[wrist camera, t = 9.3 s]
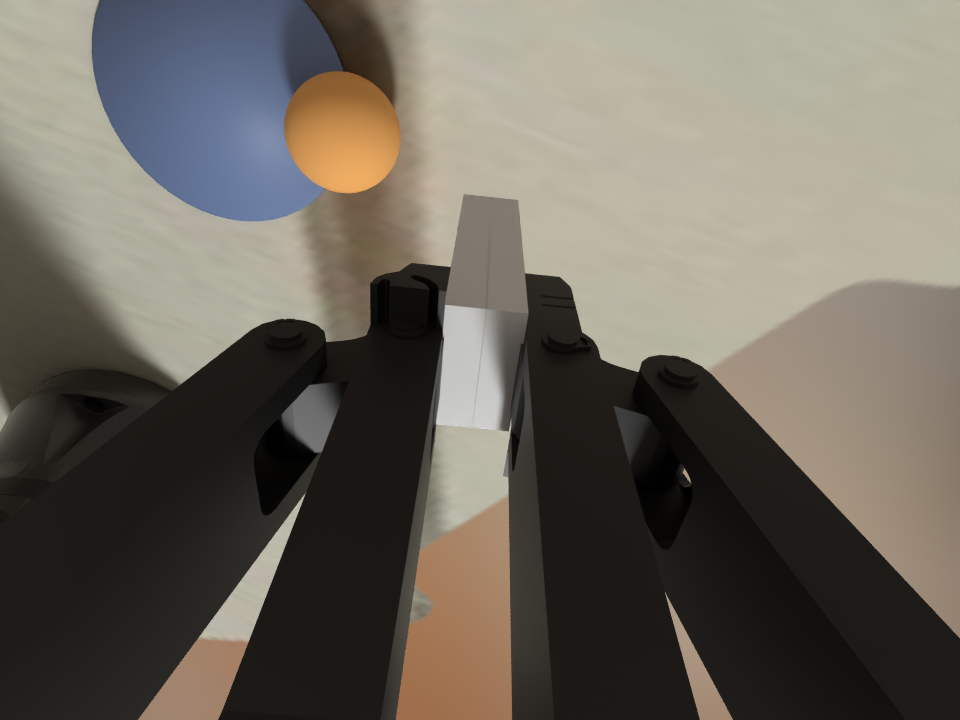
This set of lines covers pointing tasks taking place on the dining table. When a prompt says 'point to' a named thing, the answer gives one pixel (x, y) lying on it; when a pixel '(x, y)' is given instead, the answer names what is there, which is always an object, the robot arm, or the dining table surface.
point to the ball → (342, 132)
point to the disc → (211, 96)
